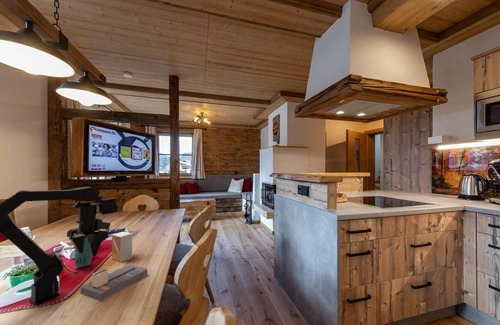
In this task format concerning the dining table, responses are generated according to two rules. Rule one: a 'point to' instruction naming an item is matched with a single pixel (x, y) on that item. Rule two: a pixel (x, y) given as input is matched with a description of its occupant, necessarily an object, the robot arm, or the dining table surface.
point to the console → (114, 282)
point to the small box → (121, 246)
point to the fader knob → (99, 278)
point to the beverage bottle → (83, 255)
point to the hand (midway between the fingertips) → (87, 254)
